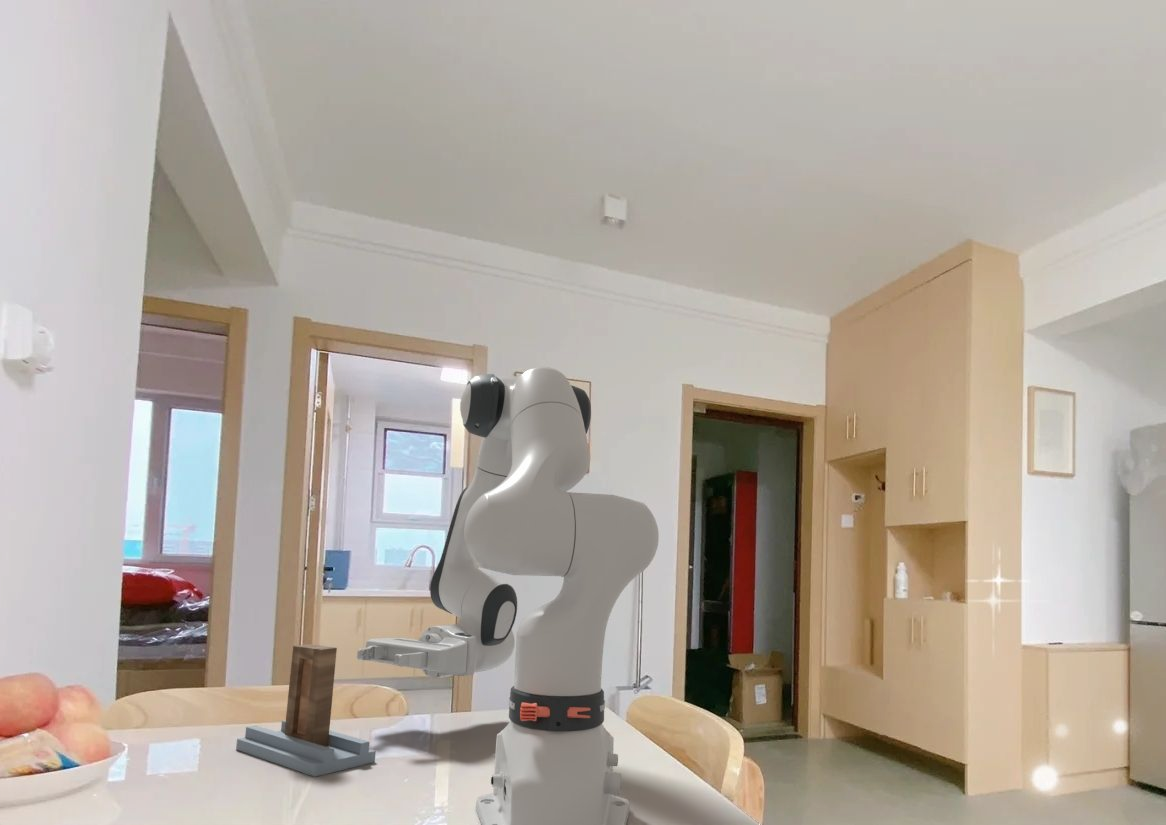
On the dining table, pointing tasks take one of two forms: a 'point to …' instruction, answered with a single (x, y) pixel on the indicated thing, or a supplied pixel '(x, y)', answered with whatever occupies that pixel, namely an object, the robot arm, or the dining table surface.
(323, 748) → the picture stand
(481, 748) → the dining table surface
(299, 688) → the frame
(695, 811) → the dining table surface
